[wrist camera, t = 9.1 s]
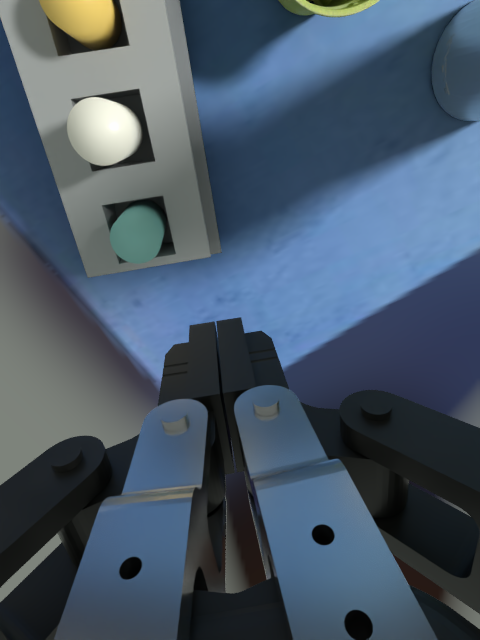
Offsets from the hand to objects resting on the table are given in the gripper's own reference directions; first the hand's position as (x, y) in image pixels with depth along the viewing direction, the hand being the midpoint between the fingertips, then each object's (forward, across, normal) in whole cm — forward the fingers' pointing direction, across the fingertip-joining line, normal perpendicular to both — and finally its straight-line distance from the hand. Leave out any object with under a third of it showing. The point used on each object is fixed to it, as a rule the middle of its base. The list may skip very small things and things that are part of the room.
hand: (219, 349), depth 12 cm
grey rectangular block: (+28, +6, -7) cm, 29 cm away
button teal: (+24, +5, 0) cm, 25 cm away
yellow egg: (+24, +6, -14) cm, 28 cm away
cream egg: (+22, +5, -7) cm, 23 cm away
